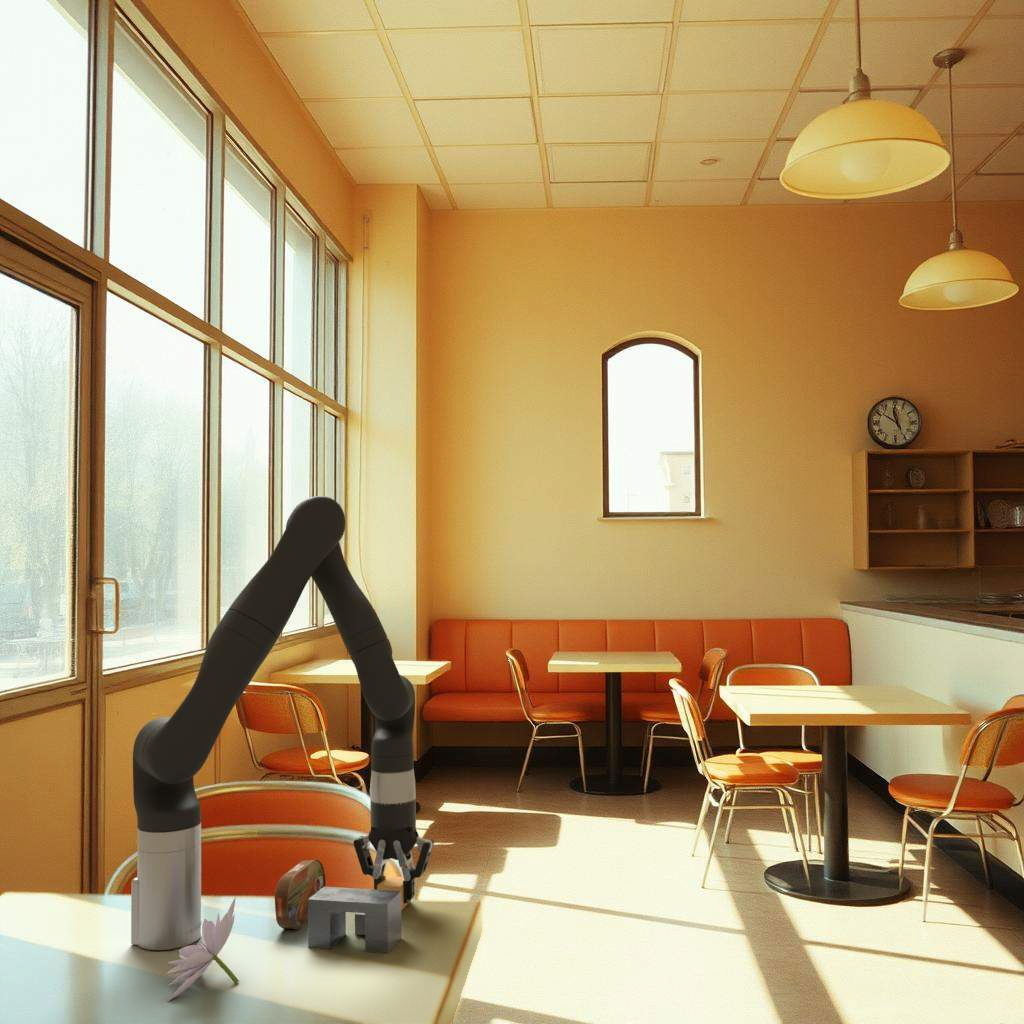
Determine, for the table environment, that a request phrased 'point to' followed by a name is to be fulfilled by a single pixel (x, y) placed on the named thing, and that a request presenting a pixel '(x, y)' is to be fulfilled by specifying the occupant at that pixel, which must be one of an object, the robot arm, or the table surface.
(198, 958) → the water lily
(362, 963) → the table surface
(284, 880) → the tin
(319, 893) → the housing
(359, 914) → the plug
